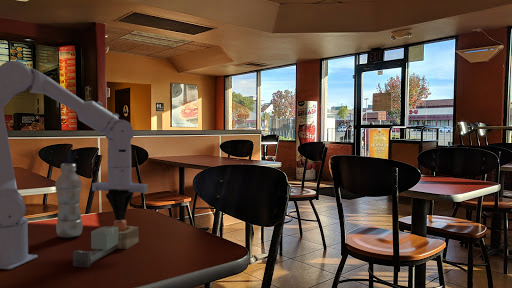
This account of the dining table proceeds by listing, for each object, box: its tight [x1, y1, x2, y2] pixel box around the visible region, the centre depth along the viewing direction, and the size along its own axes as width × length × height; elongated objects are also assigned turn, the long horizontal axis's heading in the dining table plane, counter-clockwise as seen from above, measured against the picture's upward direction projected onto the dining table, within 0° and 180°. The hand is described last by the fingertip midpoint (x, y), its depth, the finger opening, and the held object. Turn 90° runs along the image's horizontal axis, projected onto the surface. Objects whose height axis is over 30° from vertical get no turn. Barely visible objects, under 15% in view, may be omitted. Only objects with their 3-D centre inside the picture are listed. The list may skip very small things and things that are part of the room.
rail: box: [72, 244, 119, 268], centre depth 89 cm, size 4×13×3 cm, turn 169°
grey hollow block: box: [111, 225, 140, 250], centre depth 99 cm, size 7×6×4 cm
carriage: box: [90, 225, 118, 250], centre depth 92 cm, size 4×5×4 cm
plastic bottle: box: [54, 162, 84, 239], centre depth 104 cm, size 6×7×20 cm
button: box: [113, 219, 127, 232], centre depth 99 cm, size 3×3×4 cm
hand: (120, 219), depth 98 cm, fingers closed
